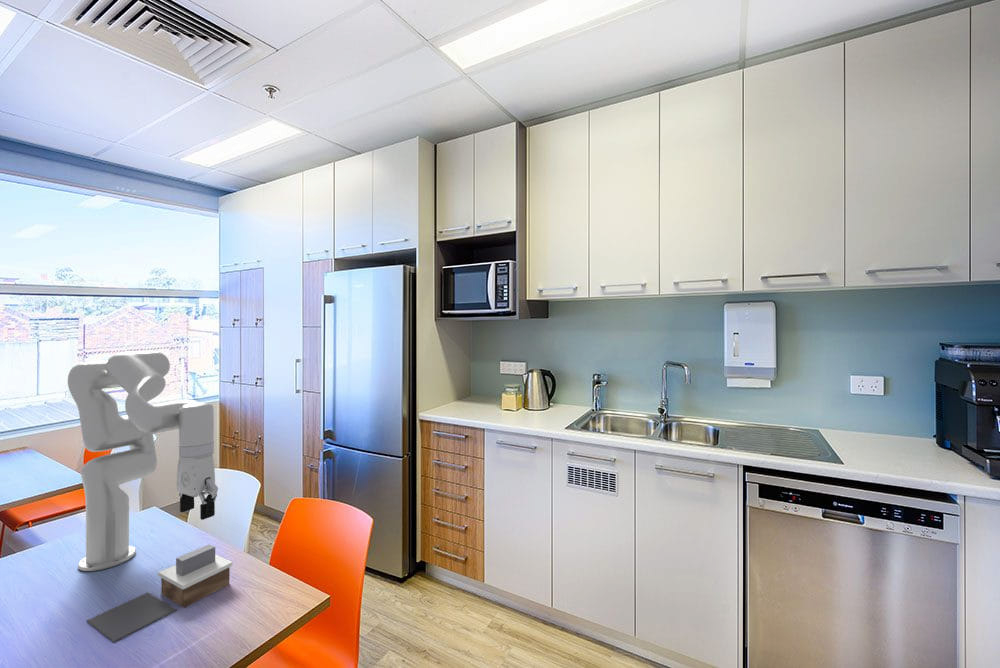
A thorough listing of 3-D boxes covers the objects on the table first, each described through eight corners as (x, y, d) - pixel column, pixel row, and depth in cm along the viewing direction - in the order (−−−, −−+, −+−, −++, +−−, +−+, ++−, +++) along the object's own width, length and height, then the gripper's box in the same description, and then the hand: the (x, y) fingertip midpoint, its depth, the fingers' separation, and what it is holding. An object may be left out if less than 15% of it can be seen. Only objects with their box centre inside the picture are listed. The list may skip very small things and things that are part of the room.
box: (161, 594, 110) (161, 575, 110) (206, 573, 120) (206, 555, 120) (184, 607, 105) (184, 587, 105) (229, 584, 115) (229, 566, 115)
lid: (158, 576, 110) (158, 557, 110) (207, 554, 120) (207, 537, 120) (182, 589, 104) (182, 569, 104) (232, 565, 115) (232, 547, 115)
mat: (86, 621, 100) (86, 620, 100) (147, 593, 110) (147, 592, 110) (114, 642, 93) (114, 640, 93) (176, 610, 104) (176, 609, 104)
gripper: (163, 449, 112) (164, 513, 113) (199, 458, 105) (199, 526, 105) (194, 442, 119) (194, 502, 119) (230, 450, 111) (230, 514, 111)
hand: (197, 513), depth 112 cm, fingers open, 9 cm apart
